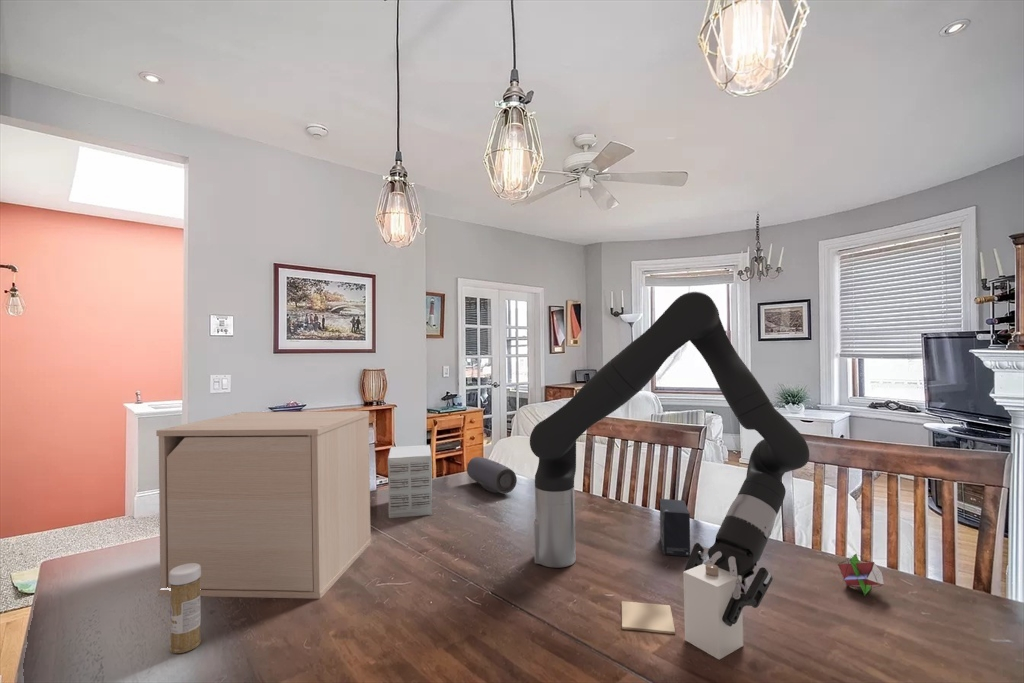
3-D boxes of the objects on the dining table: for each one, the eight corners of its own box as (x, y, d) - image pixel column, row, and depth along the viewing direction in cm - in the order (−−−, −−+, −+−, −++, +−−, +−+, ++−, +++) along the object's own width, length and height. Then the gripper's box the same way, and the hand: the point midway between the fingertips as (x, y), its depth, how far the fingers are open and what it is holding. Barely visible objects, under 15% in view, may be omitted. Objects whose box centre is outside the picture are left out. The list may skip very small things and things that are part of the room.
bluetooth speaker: (518, 494, 170) (518, 465, 170) (494, 499, 165) (494, 469, 165) (488, 480, 189) (487, 453, 190) (465, 483, 185) (465, 456, 185)
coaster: (621, 628, 88) (621, 626, 88) (621, 603, 97) (621, 601, 97) (675, 634, 86) (675, 631, 86) (670, 607, 95) (670, 605, 95)
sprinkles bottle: (166, 648, 85) (165, 568, 85) (196, 635, 89) (195, 559, 89) (175, 658, 82) (174, 576, 82) (205, 645, 86) (204, 566, 86)
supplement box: (391, 501, 165) (390, 446, 165) (431, 498, 168) (430, 444, 168) (387, 518, 148) (386, 457, 148) (432, 515, 151) (431, 455, 151)
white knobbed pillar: (719, 659, 79) (717, 579, 79) (684, 640, 84) (683, 564, 85) (743, 645, 83) (741, 568, 83) (708, 627, 88) (707, 555, 88)
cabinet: (158, 595, 104) (156, 430, 104) (243, 541, 133) (242, 412, 133) (320, 598, 101) (317, 428, 102) (371, 542, 130) (369, 410, 130)
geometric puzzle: (824, 575, 102) (851, 551, 98) (836, 565, 107) (862, 542, 103) (858, 607, 98) (887, 583, 94) (868, 595, 102) (896, 572, 98)
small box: (692, 557, 117) (691, 512, 117) (663, 555, 118) (662, 511, 119) (685, 540, 128) (684, 499, 128) (659, 538, 129) (658, 498, 129)
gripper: (702, 504, 94) (661, 585, 87) (777, 527, 82) (736, 622, 75) (720, 527, 97) (681, 606, 90) (795, 551, 85) (758, 645, 78)
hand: (707, 613), depth 83 cm, fingers closed on white knobbed pillar, 6 cm apart
